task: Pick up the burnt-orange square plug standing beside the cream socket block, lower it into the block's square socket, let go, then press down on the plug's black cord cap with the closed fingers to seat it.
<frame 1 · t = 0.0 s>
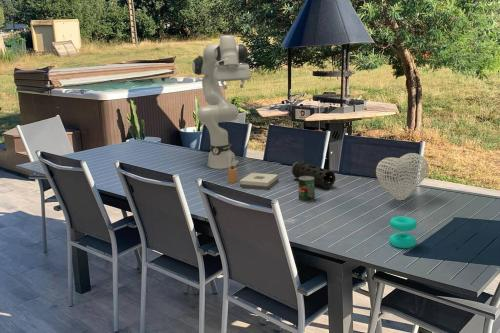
hand: (233, 88, 283), 52 cm above the table, tool tilted 20°, fingers open, 8 cm apart
plug: (232, 182, 293), on the table
canned tomato: (306, 199, 259), on the table
socket block: (259, 184, 287), on the table
donuts: (402, 244, 201), on the table
heart: (401, 201, 252), on the table
muzzle brake: (312, 184, 286), on the table
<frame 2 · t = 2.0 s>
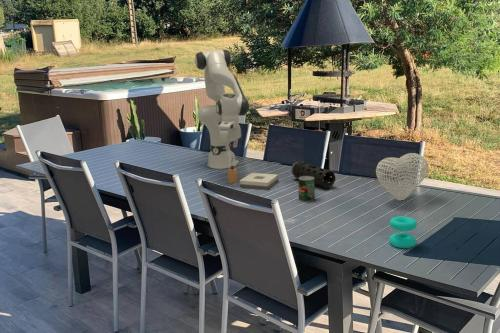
hand: (231, 148, 288), 19 cm above the table, tool pointing down, fingers open, 8 cm apart
nothing on the table moved.
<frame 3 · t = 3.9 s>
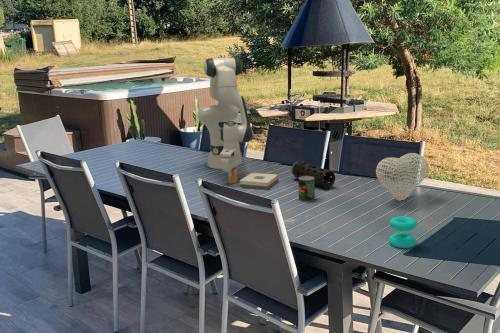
hand: (232, 175, 292), 4 cm above the table, tool pointing down, fingers closed on plug, 4 cm apart
plug: (232, 182, 293), on the table, touching gripper
everything else where it was.
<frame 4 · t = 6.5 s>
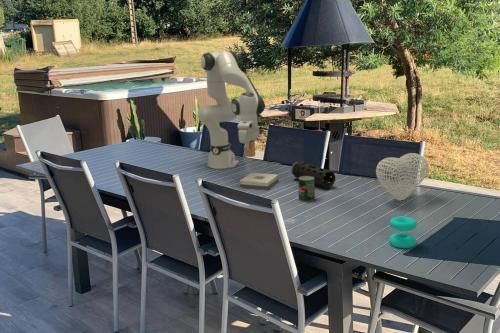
hand: (250, 148, 284), 20 cm above the table, tool pointing down, fingers closed on plug, 4 cm apart
plug: (250, 156, 285), point 16 cm above the table, touching gripper
everything else where it was.
when the fingers open (7 cm above the table, at t = 8.9 s): plug stays where it is, resting on socket block.
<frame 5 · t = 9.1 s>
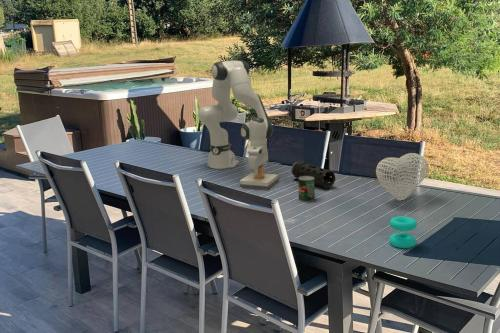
hand: (259, 172, 286), 7 cm above the table, tool pointing down, fingers open, 6 cm apart
plug: (259, 181, 287), point 2 cm above the table, touching socket block
everything else where it was.
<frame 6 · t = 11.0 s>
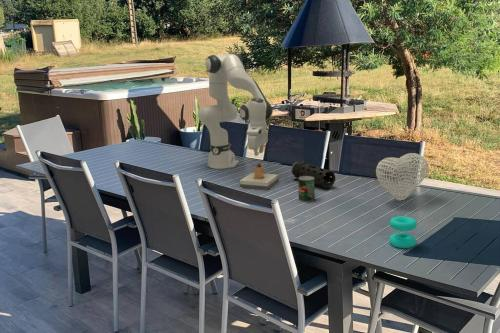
hand: (258, 154, 283), 17 cm above the table, tool pointing down, fingers open, 5 cm apart
nothing on the table moved.
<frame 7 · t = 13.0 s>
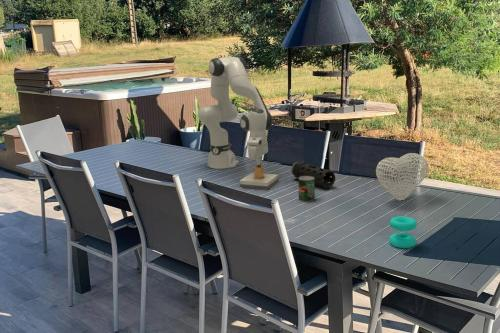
hand: (259, 164, 284), 11 cm above the table, tool pointing down, fingers closed, pressing on plug
plug: (259, 181, 287), point 2 cm above the table, touching gripper, socket block
everything else where it was.
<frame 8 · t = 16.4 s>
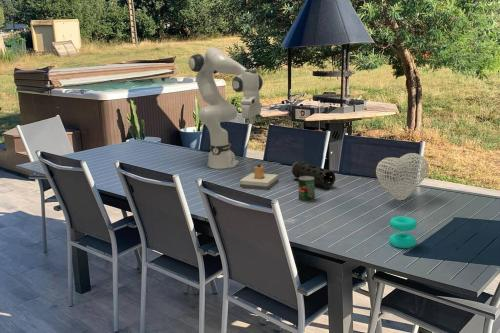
hand: (252, 123, 296), 31 cm above the table, tool pointing down, fingers closed
plug: (259, 181, 287), point 2 cm above the table, touching socket block
everything else where it was.
at the end: plug 0.1 cm off-centre on the socket block, point 2.0 cm above the socket block's base; plug tilted 0°; the gripper is holding nothing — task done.
